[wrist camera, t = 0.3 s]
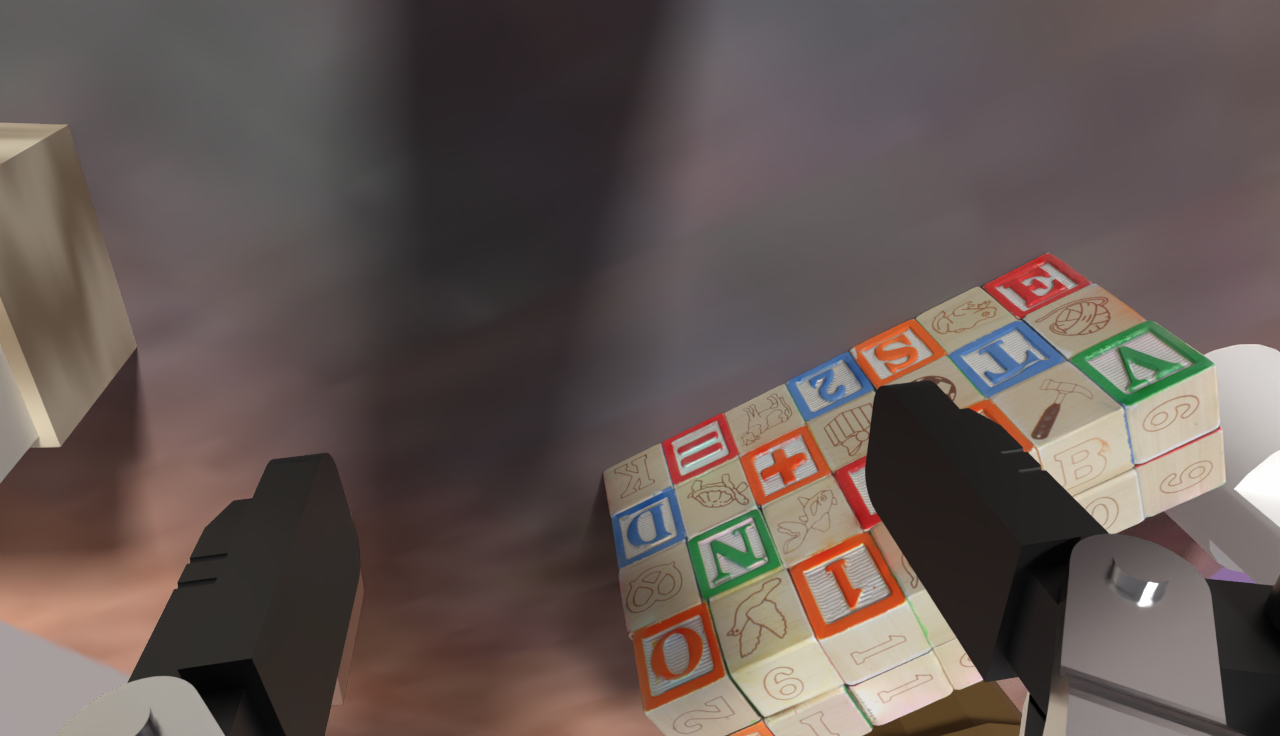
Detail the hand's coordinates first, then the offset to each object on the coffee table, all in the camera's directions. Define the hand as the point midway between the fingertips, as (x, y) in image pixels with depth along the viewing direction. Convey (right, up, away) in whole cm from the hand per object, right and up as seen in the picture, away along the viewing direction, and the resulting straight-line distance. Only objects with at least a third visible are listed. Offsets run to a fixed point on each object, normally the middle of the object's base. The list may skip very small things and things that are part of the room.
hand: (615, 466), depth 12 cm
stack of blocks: (+9, 0, +24) cm, 26 cm away
